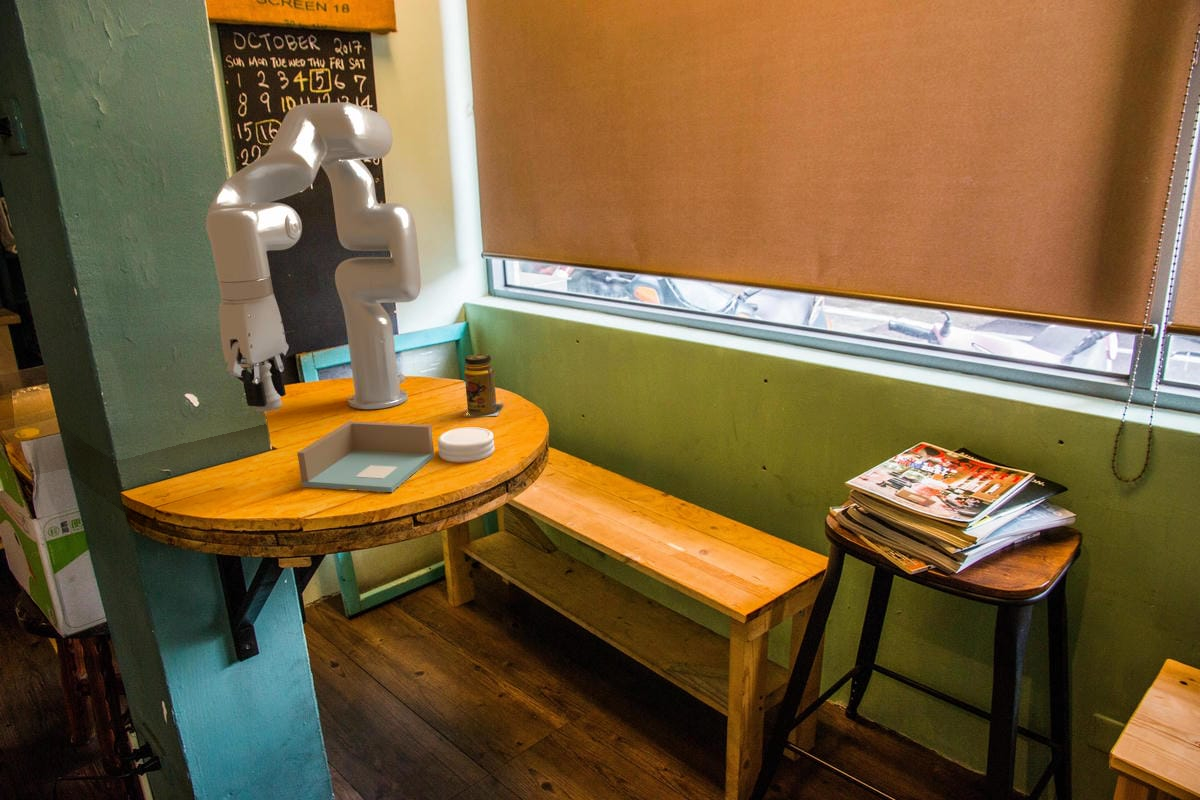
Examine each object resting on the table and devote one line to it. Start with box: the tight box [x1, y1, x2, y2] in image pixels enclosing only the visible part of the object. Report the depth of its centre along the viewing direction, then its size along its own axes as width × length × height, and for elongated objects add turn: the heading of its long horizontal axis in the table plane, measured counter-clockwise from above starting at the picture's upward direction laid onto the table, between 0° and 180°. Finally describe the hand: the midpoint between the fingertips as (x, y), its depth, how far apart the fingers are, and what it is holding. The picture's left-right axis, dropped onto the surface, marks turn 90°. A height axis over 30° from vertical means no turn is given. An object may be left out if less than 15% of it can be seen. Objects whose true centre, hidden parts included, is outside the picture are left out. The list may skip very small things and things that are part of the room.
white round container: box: [437, 426, 496, 463], centre depth 140 cm, size 10×10×4 cm
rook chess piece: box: [249, 360, 283, 412], centre depth 126 cm, size 4×4×8 cm
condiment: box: [463, 353, 505, 418], centre depth 162 cm, size 7×8×12 cm
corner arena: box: [296, 420, 435, 493], centre depth 132 cm, size 16×16×6 cm
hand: (266, 399), depth 127 cm, fingers closed on rook chess piece, 4 cm apart
